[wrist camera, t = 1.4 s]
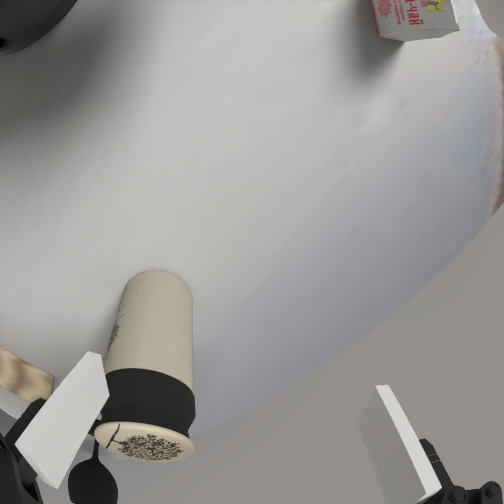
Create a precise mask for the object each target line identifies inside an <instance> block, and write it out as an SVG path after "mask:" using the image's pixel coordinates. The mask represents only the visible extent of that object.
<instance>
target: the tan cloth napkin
mask: <svg viewBox="0 0 504 504" xmlns="http://www.w3.org/2000/svg"><path fill="white" fill-rule="evenodd" d="M53 382H54V377H53V376H51V375H49V374H47V373H46V372H44V371H42V370H40V369H38V368H36V367H34V366H32V365H31V364H29V363H27V362H25V361H24V360H22V359H20V358H18V357H17V356H15V355H13V354H12V353H10V352H9V351H7V350H5V349H4V348H2V347H1V346H0V385H1V386H3V387H4V388H6V389H8V390H9V391H11V392H13V393H15V394H16V395H18V396H20V397H22V398H23V399H25V400H27V401H29V402H31V403H32V402H34V401H35V400H37V399H39V398H40V397H41V398H43V399H45V400H48V399H49V398H50V396H51V393H52V387H53Z"/></svg>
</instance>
